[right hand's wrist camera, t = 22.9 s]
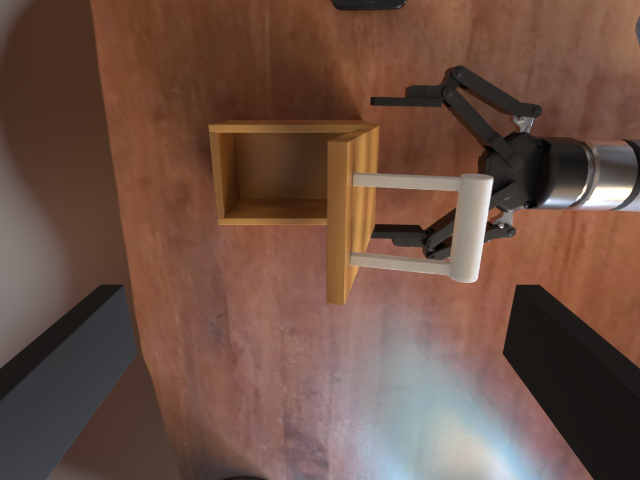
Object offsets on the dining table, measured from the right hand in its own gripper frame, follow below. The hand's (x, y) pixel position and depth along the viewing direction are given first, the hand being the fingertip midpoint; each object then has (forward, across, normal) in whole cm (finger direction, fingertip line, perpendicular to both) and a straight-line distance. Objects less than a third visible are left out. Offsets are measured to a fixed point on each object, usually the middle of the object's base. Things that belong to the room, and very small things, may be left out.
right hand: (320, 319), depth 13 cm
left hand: (+29, -5, 0) cm, 29 cm away
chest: (+35, +3, 0) cm, 35 cm away
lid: (+18, -2, 0) cm, 18 cm away
